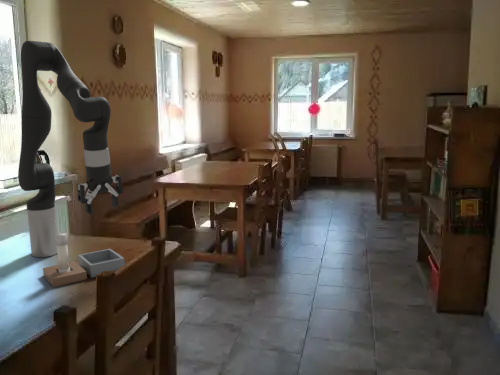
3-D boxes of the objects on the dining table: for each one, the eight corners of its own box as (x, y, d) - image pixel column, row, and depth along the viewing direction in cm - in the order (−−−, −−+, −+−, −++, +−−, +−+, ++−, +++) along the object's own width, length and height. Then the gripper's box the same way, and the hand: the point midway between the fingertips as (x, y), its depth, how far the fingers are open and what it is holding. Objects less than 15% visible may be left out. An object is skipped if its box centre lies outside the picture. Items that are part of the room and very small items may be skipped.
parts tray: (79, 266, 155) (78, 255, 154) (111, 259, 162) (110, 248, 161) (91, 277, 145) (90, 265, 144) (125, 269, 151) (124, 258, 151)
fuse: (58, 277, 146) (53, 234, 143) (69, 274, 148) (65, 232, 145) (60, 280, 143) (56, 236, 141) (72, 277, 145) (68, 234, 143)
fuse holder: (43, 275, 147) (42, 268, 147) (75, 268, 153) (75, 261, 153) (53, 287, 138) (52, 279, 137) (87, 279, 144) (86, 271, 143)
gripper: (112, 155, 151) (116, 201, 156) (70, 164, 141) (76, 212, 147) (124, 160, 146) (128, 207, 151) (81, 169, 136) (87, 219, 142)
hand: (102, 210), depth 149 cm, fingers open, 8 cm apart
